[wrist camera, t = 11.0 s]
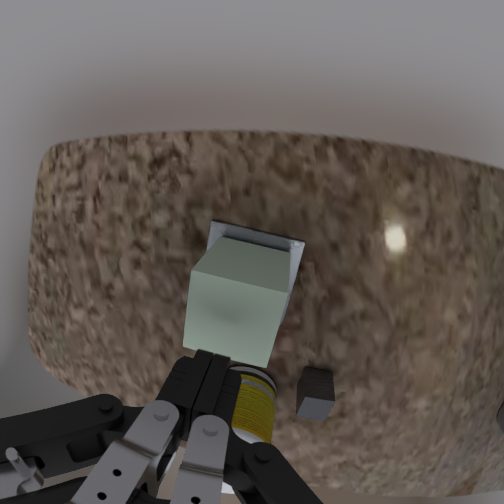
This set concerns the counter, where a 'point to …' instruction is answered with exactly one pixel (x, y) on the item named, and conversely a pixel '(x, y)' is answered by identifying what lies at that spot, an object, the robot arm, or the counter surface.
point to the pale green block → (237, 300)
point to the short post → (315, 394)
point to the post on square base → (264, 240)
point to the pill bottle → (253, 409)
